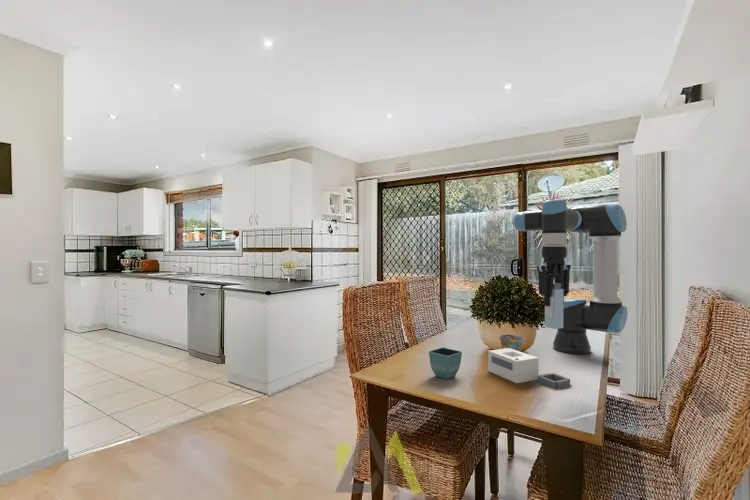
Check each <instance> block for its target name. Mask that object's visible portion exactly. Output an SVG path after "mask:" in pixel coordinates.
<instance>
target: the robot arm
mask: <svg viewBox="0 0 750 500" xmlns="http://www.w3.org/2000/svg"><path fill="white" fill-rule="evenodd" d="M541 205H542V206H541V210H530V211H529V210H528V211H519V212H517V213H516V214H515V216H514V219H513V225H514V228H515V230H516V231H519V232H535V231H538V232H539V231H541V245H542V246H543V247H541V258H543V263H542V264H540V265H539V264H538V265H537V266H536V269H537V272H538V273H537V276H538V294H539V295H540V296H541V297H543V305H544V317H545V316H550V317H553V297H551V294H552V287H553V282H555V283H561V289H563V328H559V329H556V330H557V331H556V334H555V336H554V339H553V340H554V341H553V342H552V347H553V349H554V350H555V351H558V352H561V353H565V354H573V355H574V354H575V355H588V354H590V353H591V352H592V351H591V345H590V341H589V339H588V336H587V330H591V331H597V332H605V333H609V334H610V333H612V334H620V333H621V332H623V330H624V329H625V326H626V323H627V319H628V307H627V306H625V305H623V301H622V299H620V298H619V296H618V240H619V239H620V238H621V237H622V233H624V232H626V230H627V223H628V222H627V217H626V214H625V210H624V209H623V207H622V206H621V205H620V204H616V203H615V204H607V203H606V204H601V205H600V204H599V205H588V206H587V205H586V206H577V207H572V208H568V206H567V201H566V200H564V199H550V200H549V199H548V200H545V201H544V200H543V202H542V204H541ZM567 232H569V233H578V234H579V233H580V234H587V233H588V237H589V238H590V240H591V241H592V242H593V247H592V248H593V251H592V252H593V254H592V255H593V257H592V259H593V296H592V297H590V299H589V302H587V299H586V298H567V299H565V297H567V296H568V294H569V293H570V271H571V268H572V267H571V265H572V264H567V263H566V262H565V259H566V258H567V253H568V252H567V251H568V250H567V249H568V248H567V247H566V245H567V244H568V240H567V239H568V238H567V237H568V236H567Z"/></svg>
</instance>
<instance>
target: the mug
mask: <svg viewBox="0 0 750 500" xmlns="http://www.w3.org/2000/svg"><path fill="white" fill-rule="evenodd" d="M498 338H499V341H500V344H501V347H502V348H501V349H505V348H511V349H514V350H517V351H520V352H521V347H522V344H523V341H524V339H525V338H524V337H523V336H521V335H516V334H501V335H500V334H499V336H498Z"/></svg>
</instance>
